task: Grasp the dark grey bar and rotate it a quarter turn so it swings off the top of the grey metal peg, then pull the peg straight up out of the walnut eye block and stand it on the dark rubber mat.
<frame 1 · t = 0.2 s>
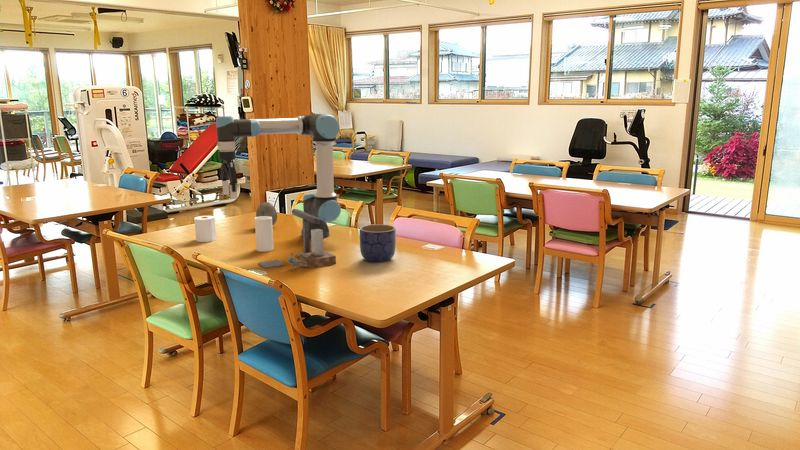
hand: (230, 196, 263), 28 cm above the table, fingers open, 13 cm apart
cup: (265, 249, 278), on the table
dark grey bar: (305, 217, 261), point 19 cm above the table, hinge at 0.0°
toilet paper: (206, 240, 297), on the table
peg: (317, 246, 254), in the eye block
mat: (271, 264, 252), on the table
decorative egg: (267, 228, 325), on the table
handle post: (307, 256, 265), on the table
elephant figurine: (295, 268, 247), on the table
eye block: (317, 262, 255), on the table
planter: (377, 259, 260), on the table
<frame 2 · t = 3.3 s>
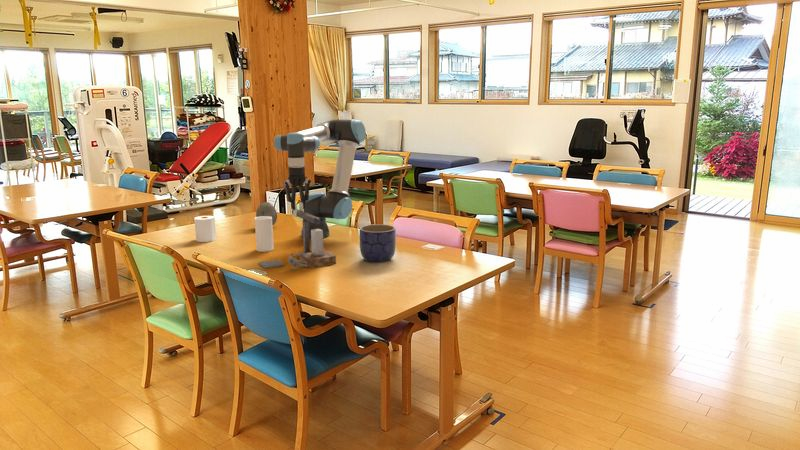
hand: (298, 215, 268), 18 cm above the table, fingers closed on dark grey bar, 2 cm apart
dark grey bar: (305, 217, 261), point 19 cm above the table, hinge at 0.0°, touching gripper
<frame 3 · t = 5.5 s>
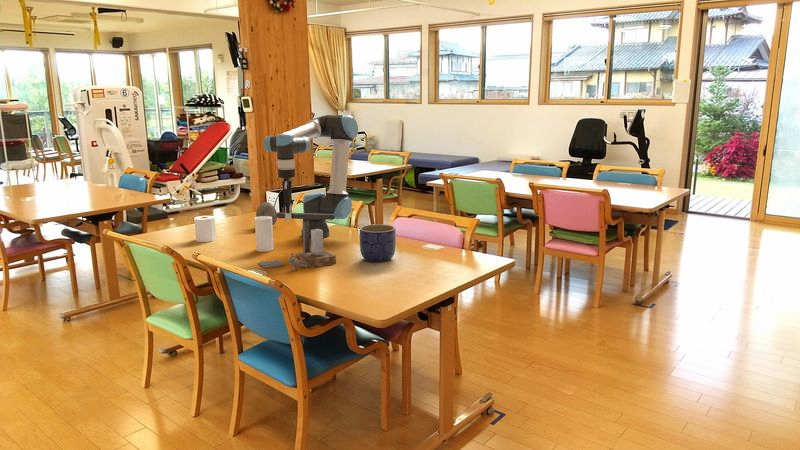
hand: (288, 218, 262), 18 cm above the table, fingers open, 3 cm apart
dark grey bar: (305, 217, 261), point 19 cm above the table, hinge at 48.5°, touching gripper
everything else where it was.
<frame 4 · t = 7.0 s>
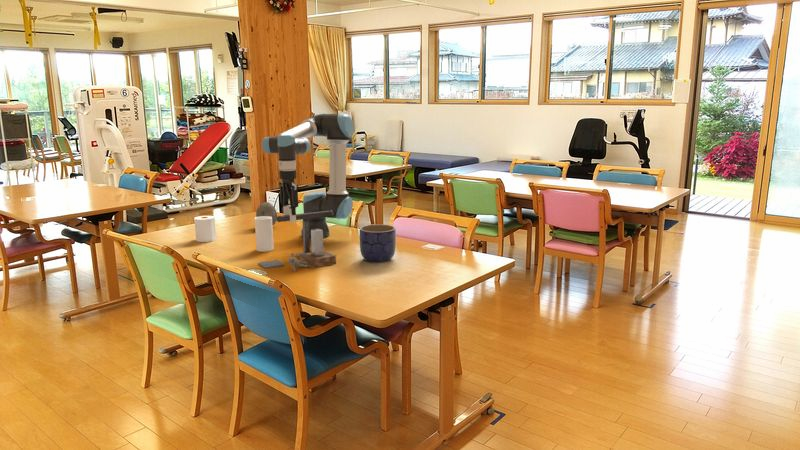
hand: (290, 220, 257), 18 cm above the table, fingers open, 5 cm apart
dark grey bar: (305, 217, 261), point 19 cm above the table, hinge at 87.6°, touching gripper
everything else where it was.
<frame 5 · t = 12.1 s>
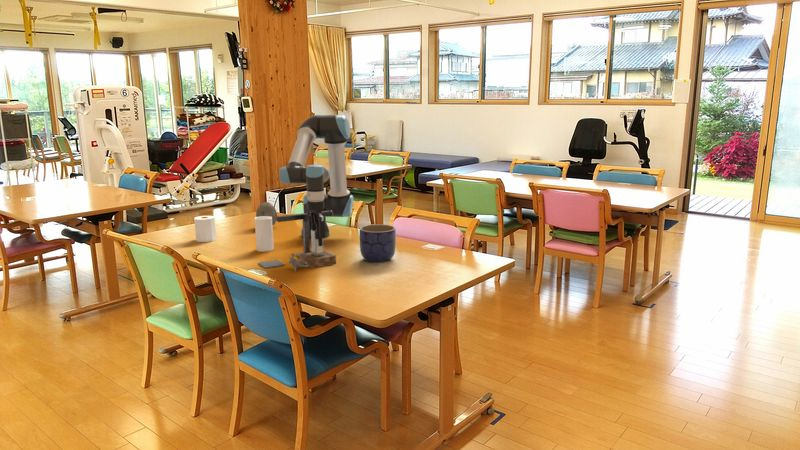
hand: (317, 251, 254), 5 cm above the table, fingers closed on peg, 4 cm apart
dark grey bar: (305, 217, 261), point 19 cm above the table, hinge at 87.6°
peg: (317, 246, 254), in the eye block, touching gripper
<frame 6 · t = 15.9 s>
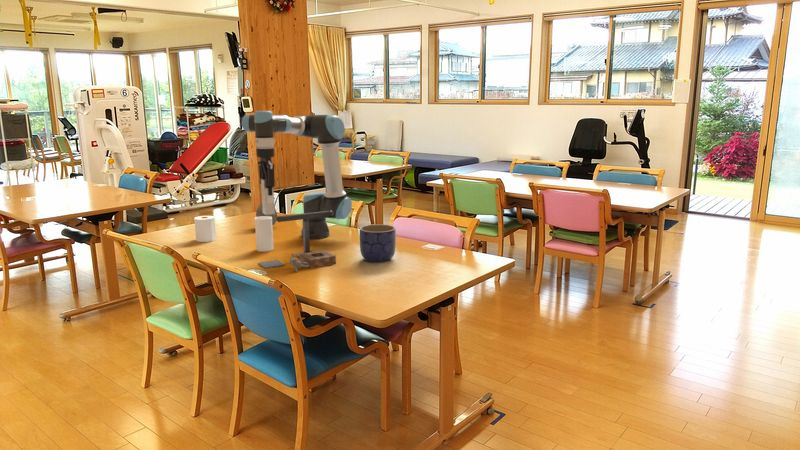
hand: (268, 201, 246), 29 cm above the table, fingers closed on peg, 4 cm apart
peg: (267, 196, 245), point 31 cm above the table, touching gripper
when the fingers open (7 cm above the table, at t = 20.1 s): peg drops 1 cm, resting on mat.
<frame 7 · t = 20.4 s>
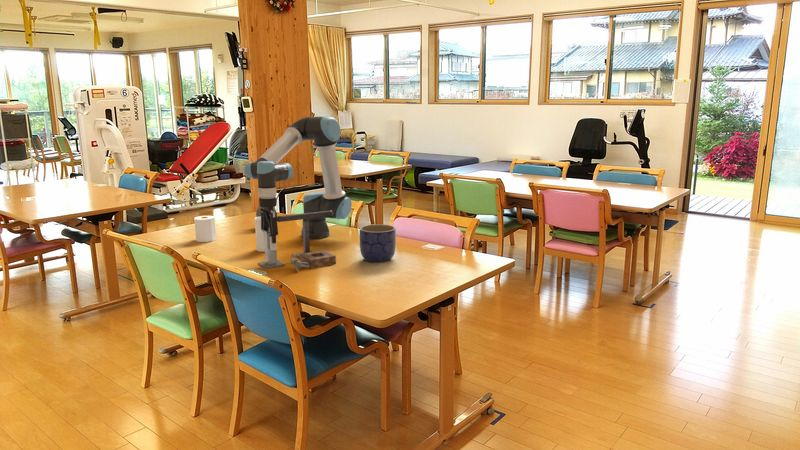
hand: (270, 248, 250), 8 cm above the table, fingers open, 7 cm apart
peg: (270, 247, 250), on the mat, point 8 cm above the table
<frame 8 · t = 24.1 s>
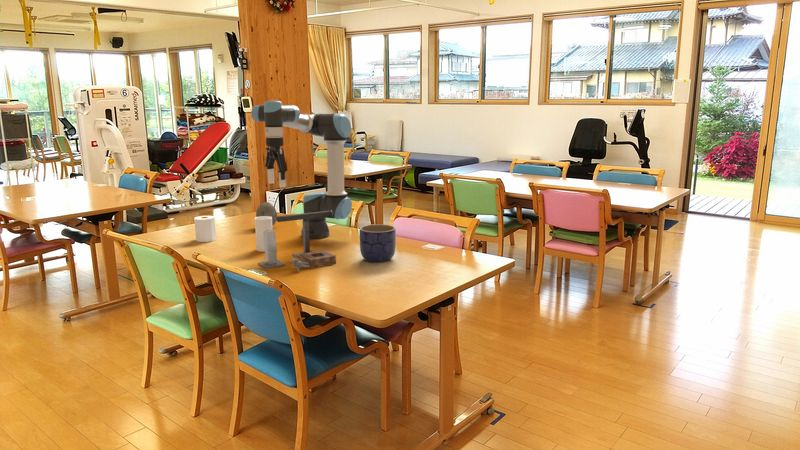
hand: (276, 185, 251), 35 cm above the table, fingers open, 13 cm apart
at the end: dark grey bar at +88° (first picture: +0°); peg inside the target area on the mat (0.0 cm from its centre), point 8.1 cm above the mat's base; peg tilted 0° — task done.
